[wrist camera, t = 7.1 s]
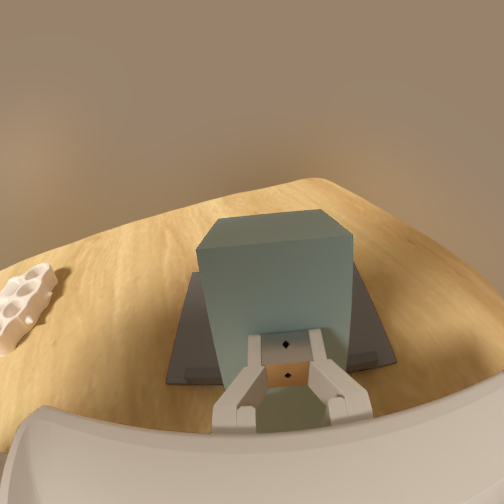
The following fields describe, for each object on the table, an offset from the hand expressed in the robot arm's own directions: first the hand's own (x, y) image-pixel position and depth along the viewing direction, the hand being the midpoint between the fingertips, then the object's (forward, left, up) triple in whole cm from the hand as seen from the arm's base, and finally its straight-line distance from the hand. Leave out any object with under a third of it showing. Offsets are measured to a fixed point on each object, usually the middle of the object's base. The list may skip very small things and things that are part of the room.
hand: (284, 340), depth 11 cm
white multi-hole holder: (-38, +13, -12) cm, 42 cm away
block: (0, +1, -10) cm, 10 cm away
